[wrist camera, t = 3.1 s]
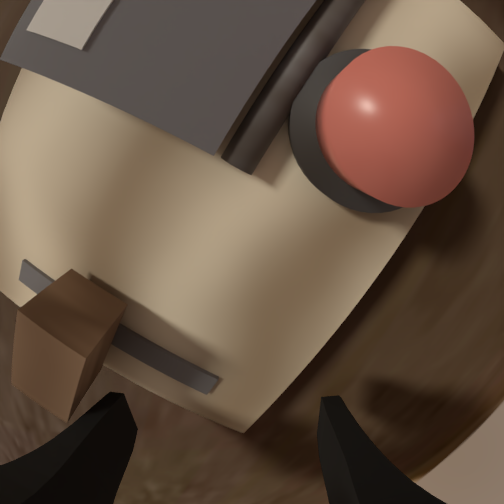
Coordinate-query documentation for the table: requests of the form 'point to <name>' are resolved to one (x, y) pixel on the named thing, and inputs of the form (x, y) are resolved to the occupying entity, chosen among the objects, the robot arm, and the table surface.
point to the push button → (396, 127)
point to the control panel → (219, 211)
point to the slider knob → (63, 342)
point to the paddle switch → (159, 55)
